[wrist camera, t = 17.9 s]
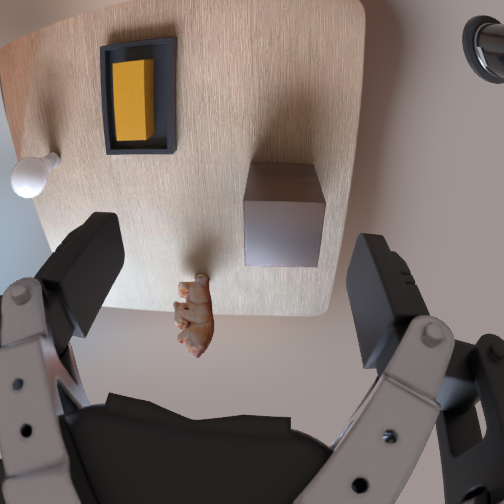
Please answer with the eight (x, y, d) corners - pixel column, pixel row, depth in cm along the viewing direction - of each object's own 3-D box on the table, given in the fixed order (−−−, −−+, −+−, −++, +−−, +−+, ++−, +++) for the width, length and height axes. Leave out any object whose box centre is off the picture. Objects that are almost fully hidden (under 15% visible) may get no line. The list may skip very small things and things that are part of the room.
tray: (177, 37, 33) (172, 37, 31) (176, 149, 43) (172, 154, 41) (107, 46, 33) (100, 46, 31) (112, 150, 43) (106, 154, 41)
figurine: (183, 266, 55) (161, 330, 43) (224, 275, 56) (212, 341, 44) (181, 290, 59) (161, 353, 47) (219, 298, 59) (207, 363, 47)
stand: (250, 162, 43) (243, 200, 34) (313, 164, 43) (326, 202, 33) (250, 217, 49) (244, 265, 39) (308, 218, 48) (317, 267, 38)
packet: (123, 61, 34) (112, 63, 31) (153, 58, 34) (143, 59, 31) (126, 133, 41) (116, 140, 38) (155, 133, 40) (146, 140, 38)
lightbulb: (76, 161, 44) (38, 190, 35) (57, 181, 46) (20, 212, 37) (55, 133, 41) (13, 158, 32) (37, 155, 43) (-2, 182, 34)
